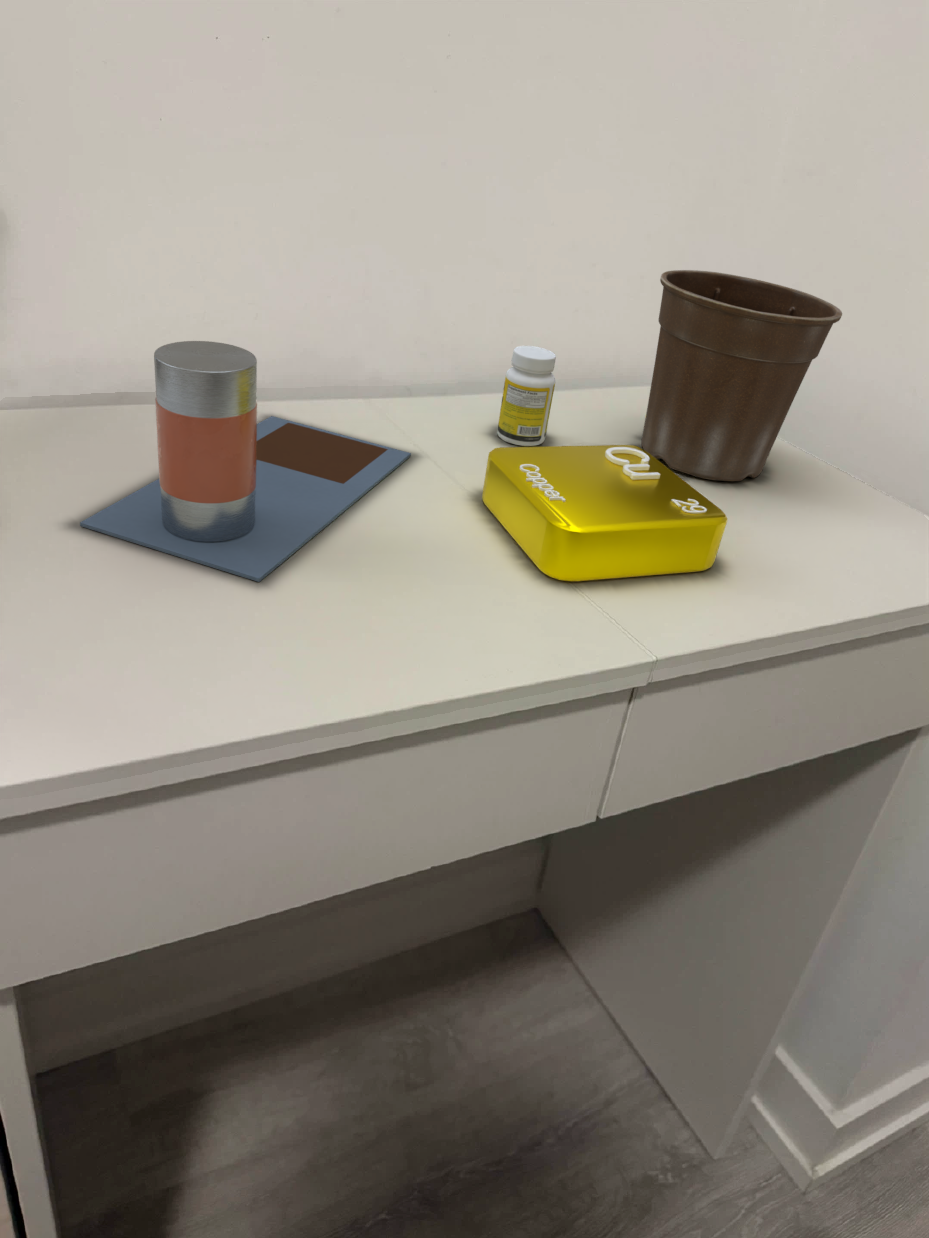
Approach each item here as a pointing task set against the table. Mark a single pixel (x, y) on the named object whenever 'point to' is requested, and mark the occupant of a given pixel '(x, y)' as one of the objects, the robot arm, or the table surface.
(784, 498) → the table surface
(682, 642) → the table surface
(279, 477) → the rubber mat
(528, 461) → the element tile
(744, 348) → the plant pot
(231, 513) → the tin can
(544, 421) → the supplement bottle
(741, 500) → the table surface
